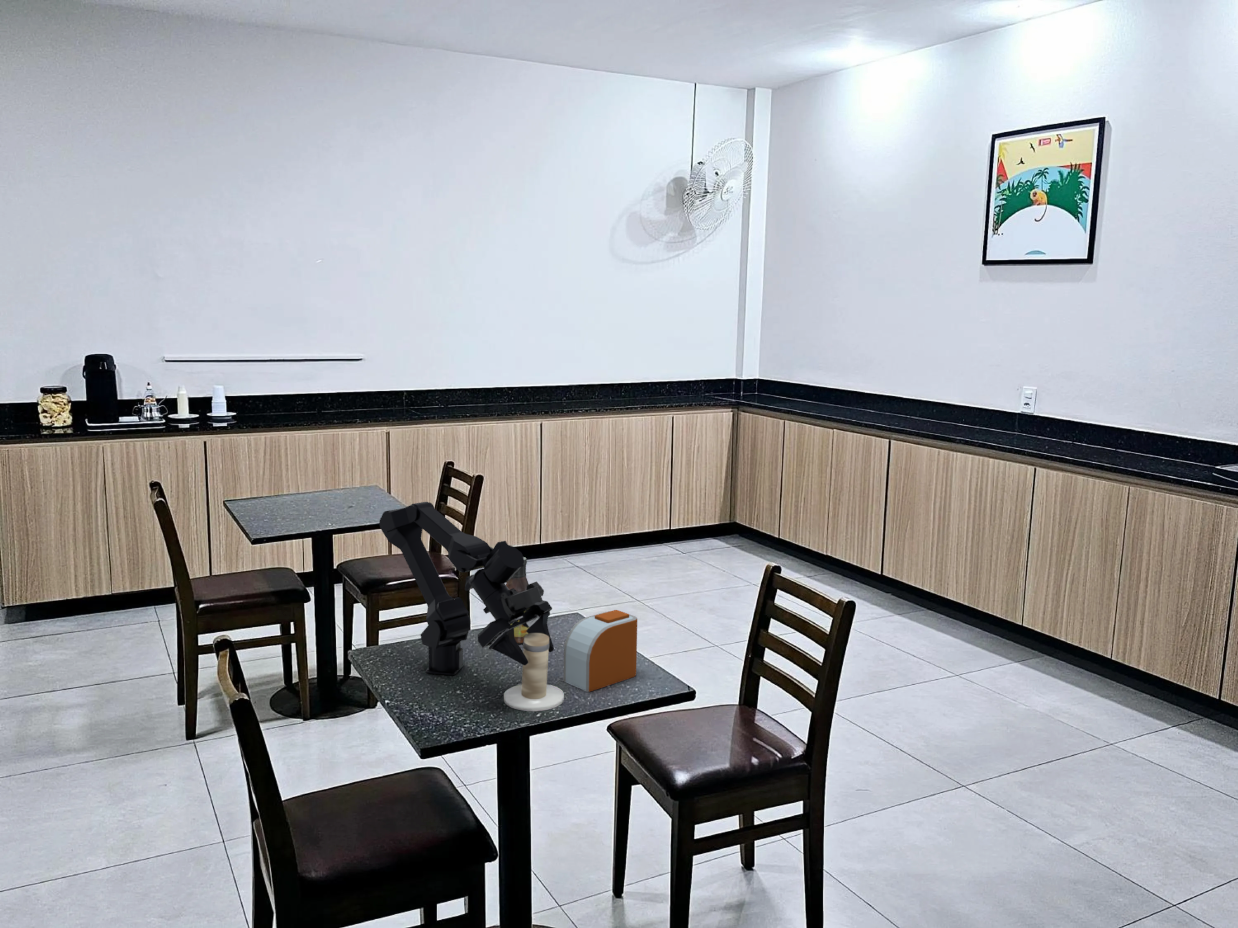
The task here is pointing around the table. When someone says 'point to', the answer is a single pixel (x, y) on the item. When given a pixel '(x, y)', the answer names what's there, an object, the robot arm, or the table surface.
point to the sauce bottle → (520, 585)
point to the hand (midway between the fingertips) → (539, 657)
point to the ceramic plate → (521, 703)
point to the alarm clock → (601, 650)
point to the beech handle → (535, 665)
